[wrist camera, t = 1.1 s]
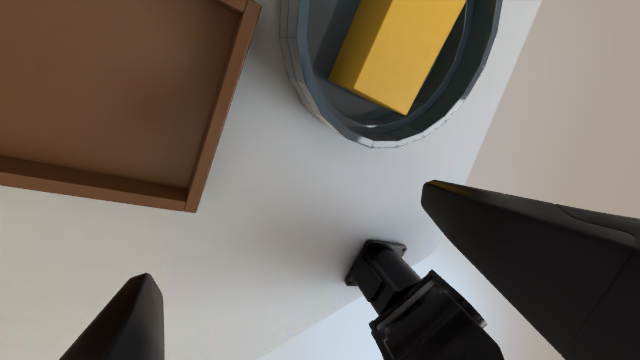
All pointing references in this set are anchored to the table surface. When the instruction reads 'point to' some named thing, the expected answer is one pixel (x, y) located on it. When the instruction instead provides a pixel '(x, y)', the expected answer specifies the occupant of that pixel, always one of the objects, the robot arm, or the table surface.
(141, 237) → the table surface
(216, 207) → the table surface
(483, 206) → the robot arm
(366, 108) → the bowl
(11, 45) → the tray
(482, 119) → the table surface
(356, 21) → the block
